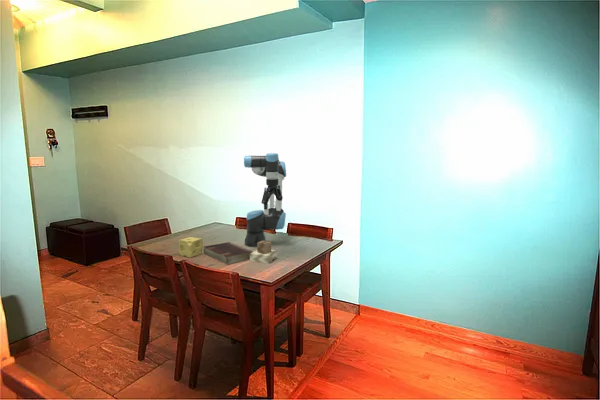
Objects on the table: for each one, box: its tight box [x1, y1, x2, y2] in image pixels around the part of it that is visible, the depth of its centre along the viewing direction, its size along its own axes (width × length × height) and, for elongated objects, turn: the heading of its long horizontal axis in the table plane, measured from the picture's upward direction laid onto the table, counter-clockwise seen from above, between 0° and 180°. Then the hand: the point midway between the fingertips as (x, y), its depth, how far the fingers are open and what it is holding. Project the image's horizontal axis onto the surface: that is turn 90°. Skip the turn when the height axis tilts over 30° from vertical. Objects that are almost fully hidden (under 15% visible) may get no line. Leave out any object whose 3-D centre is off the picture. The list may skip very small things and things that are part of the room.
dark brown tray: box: [203, 242, 255, 265], centre depth 218 cm, size 29×19×5 cm, turn 42°
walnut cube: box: [256, 240, 272, 254], centre depth 210 cm, size 6×6×6 cm
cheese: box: [178, 236, 204, 259], centre depth 219 cm, size 10×11×10 cm
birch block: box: [249, 249, 277, 264], centre depth 211 cm, size 12×12×5 cm
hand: (272, 212), depth 220 cm, fingers open, 13 cm apart
